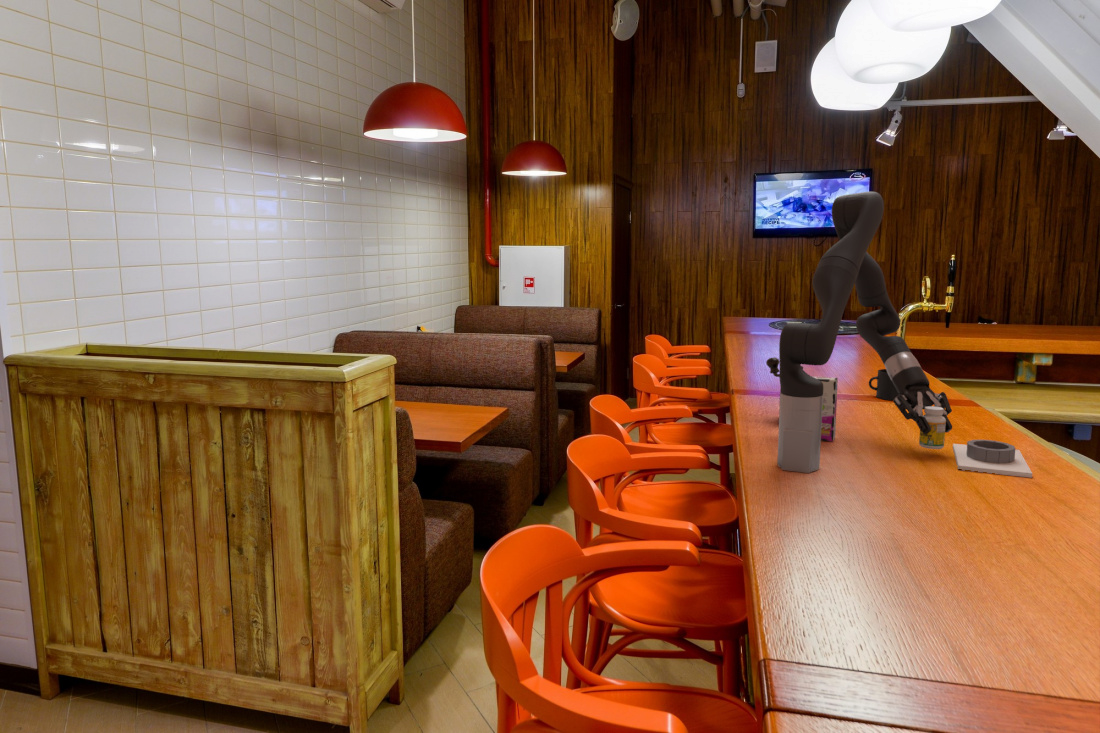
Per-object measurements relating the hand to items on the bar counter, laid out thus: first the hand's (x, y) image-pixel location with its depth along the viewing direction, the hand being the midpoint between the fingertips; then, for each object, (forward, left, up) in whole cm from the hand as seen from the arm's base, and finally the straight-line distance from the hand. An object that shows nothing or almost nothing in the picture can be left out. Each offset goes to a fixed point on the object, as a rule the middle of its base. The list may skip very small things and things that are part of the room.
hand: (938, 431), depth 171 cm
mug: (+69, +12, -7) cm, 71 cm away
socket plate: (0, -11, -6) cm, 13 cm away
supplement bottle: (+1, +1, -5) cm, 5 cm away
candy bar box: (+6, +29, -7) cm, 30 cm away
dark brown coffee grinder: (+23, +37, -7) cm, 44 cm away
